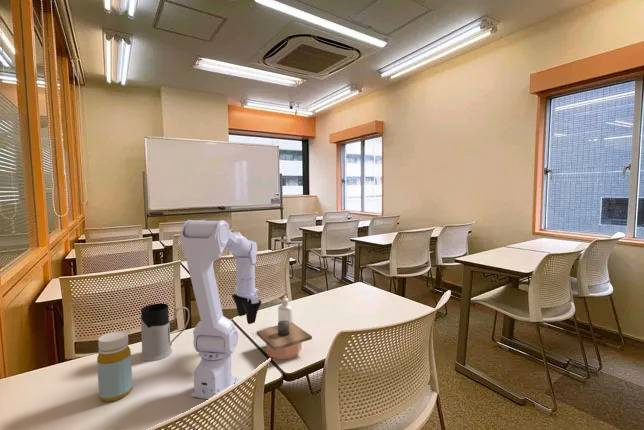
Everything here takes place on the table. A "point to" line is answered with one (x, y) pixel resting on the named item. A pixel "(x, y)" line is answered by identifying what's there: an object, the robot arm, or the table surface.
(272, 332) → the lid
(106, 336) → the bottle
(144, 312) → the glass holder
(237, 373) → the table surface
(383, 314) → the table surface
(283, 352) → the bowl
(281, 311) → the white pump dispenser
